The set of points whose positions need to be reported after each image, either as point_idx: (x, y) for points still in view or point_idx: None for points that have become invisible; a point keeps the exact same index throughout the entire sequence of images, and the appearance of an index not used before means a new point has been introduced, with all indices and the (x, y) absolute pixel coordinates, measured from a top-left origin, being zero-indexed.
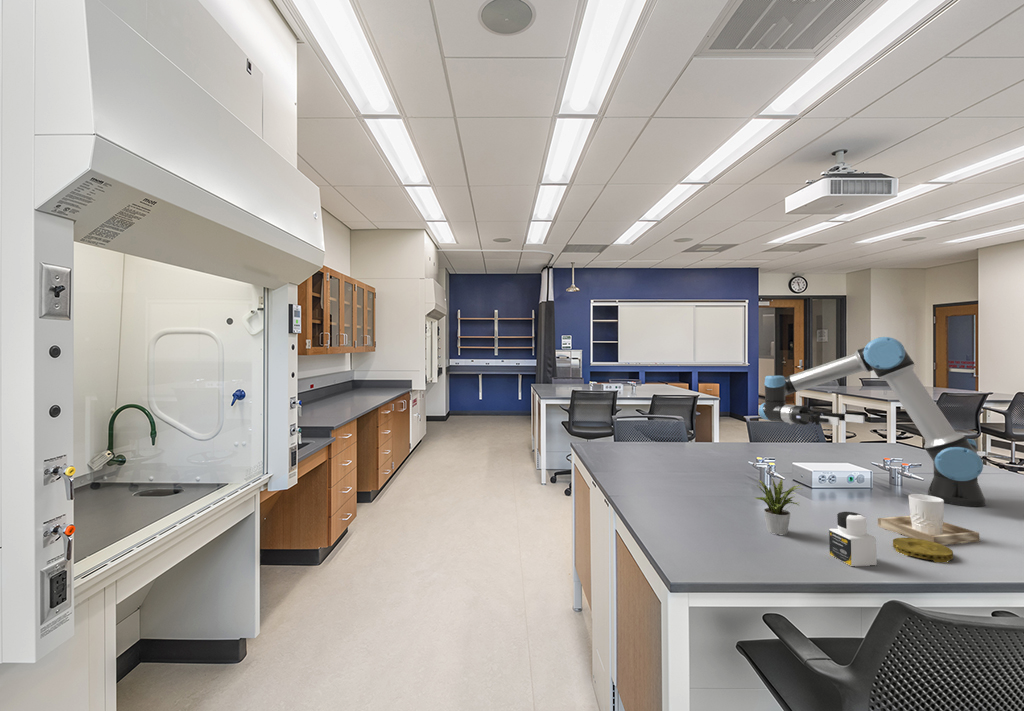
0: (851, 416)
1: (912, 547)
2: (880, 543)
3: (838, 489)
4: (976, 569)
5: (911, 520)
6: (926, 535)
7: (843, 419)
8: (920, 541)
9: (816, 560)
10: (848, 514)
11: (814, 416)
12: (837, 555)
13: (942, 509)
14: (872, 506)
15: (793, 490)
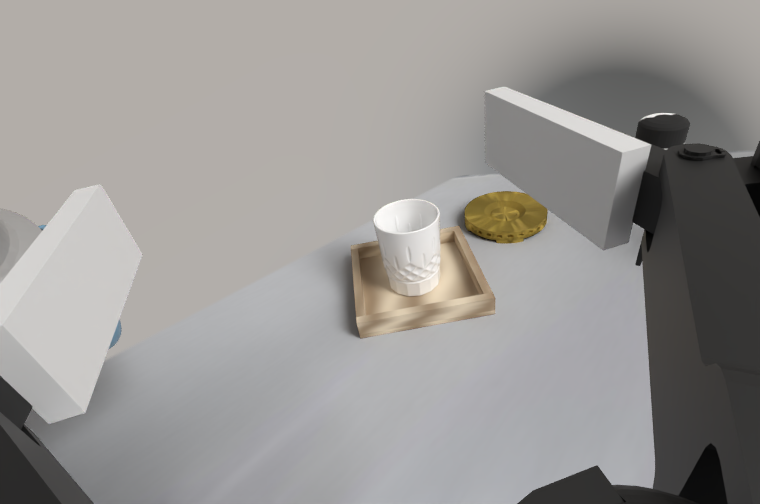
0: (65, 276)
1: (526, 205)
2: (554, 242)
3: None
4: (469, 193)
5: (436, 269)
6: (462, 234)
7: (33, 437)
8: (491, 222)
9: None
10: (672, 115)
11: (736, 188)
12: None
13: (395, 219)
14: (357, 488)
15: None
